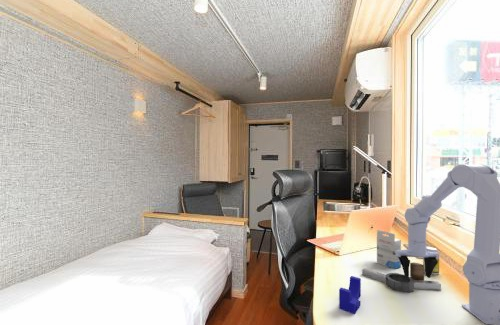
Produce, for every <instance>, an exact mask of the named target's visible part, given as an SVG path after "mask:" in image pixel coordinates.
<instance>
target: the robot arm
mask: <svg viewBox="0 0 500 325" xmlns="http://www.w3.org/2000/svg"><path fill="white" fill-rule="evenodd" d="M459 188H464V189H466V190H468V191H470V192H471V193H473V194H474V195H475V196H476V197H477V200H476V210H475V211H476V213H475V215H476V216H475V225H474V226H475V228H474V229H475V230H474V239H473V242H474V243H473V249H472V250H471V251H470V252H469V253H468V254H467V255H466V261H465V262H464V263H463V265H462V272H463V275H464V277H465V278H466V279H467V282H468V288H469V289H468V298H469V299H468V302H469V303H468V304H466V303H465V304H464V303H462V304H461V307H463V308H464V309H465V310H467V311H468V312H470V314H472V315H473V316H474V317H475V318H477V319H478V320H480V321H481V322H482V323H484V324H486V325H500V181H499V178H498V172H497V171H496V170H494V169H493V168H492V167H491V166H489V165H487V164H463V163H460V164H456V165H455V166H453V167H452V169H451V170H450V171H448V172H447V176H446V178H445V179H444V180H443V181H442V182H441V184H440V185H439V186H438V187H437V188H436V189H435V190H434V192H432V194H426V195H423V196H422V197H421V199H420V201H419V202H417V203H416V204H415V205H414V206H413V207H410V208H406V210H405V211H404V218H405V221H406V222H407V226H408V228H407V229H408V230H407V232H408V233H407V234H408V235H407V238H408V239H407V241H408V242H407V244H408V246H407V247H408V248H407V249H401V250H396V256H398V258H399V260H400V262H401V267H402V271H403V275H406V276H408V277H410V263H411V260H410V259H409V258H423V257H424V262H425V272H424V277H425V276H426V277H427V278H428V279H431V277H432V275H433V274H432V271H433V269H434V267H435V266H436V265H437V263H438V260H437V259H439V260H440V253H438V251H437V252H430V251H426V247H427V228H428V224H429V223H430V221H431V216H433V214H434V213H436V212H437V211H438V210H439V209H440V208H441V207H442V206H443V205H442V202H443V200H445V199H447V197H449V196H450V195H451V194H452V193H454V192H455V191H456V190H458V189H459Z"/></svg>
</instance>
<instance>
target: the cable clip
mask: <svg viewBox="0 0 500 325" xmlns="http://www.w3.org/2000/svg"><path fill="white" fill-rule="evenodd" d="M361 281H362V280H361V278H360V277H357V276H353V275H351V276H350V277H349V284H348V285H349V287H348V288H347V289H346V288H345V287H339V292H338V301H339V303H338V309H339V310H342V311H345V312H347V313H350V314H354V315H356V313H357V312H358V310H359V309H360V307H361V300H360V298H361V294H362V292H361V291H362V290H361V286H362V285H361V284H362V283H361Z"/></svg>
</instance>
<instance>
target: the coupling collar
mask: <svg viewBox="0 0 500 325" xmlns="http://www.w3.org/2000/svg"><path fill="white" fill-rule="evenodd" d="M361 273H362V274H361V275H362V276H365V277H368V278H371V279H373V280H376V281H379V282H382V283H385V285H386V286H387V287H388V288H389V289H391V290H393V291H396V292H400V293H408V294H409V293H413V292H414V290H428V291H431V290H432V291H442V284H441V282H439V281H437V280H425V279H424V280H413V279H412V278H411V277H410V276H409V277H408V276H406V275H404V273H403V274H402V273H397V272H390V273H386V274H385V273H382V272H379V271H376V270H373V269H370V268H366V267H363V268H362V270H361Z"/></svg>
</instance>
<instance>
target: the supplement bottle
mask: <svg viewBox="0 0 500 325" xmlns="http://www.w3.org/2000/svg"><path fill="white" fill-rule="evenodd" d="M426 251H430V252H437V253H438V249H437V248H436V247H432V246H426ZM437 260H438V263H437V265H436V266H435V267H434V269H433V271H432V274H431V275H435V276H436V275H440V258H439V259H437ZM422 265H424V273H425V262H424V257H422Z"/></svg>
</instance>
